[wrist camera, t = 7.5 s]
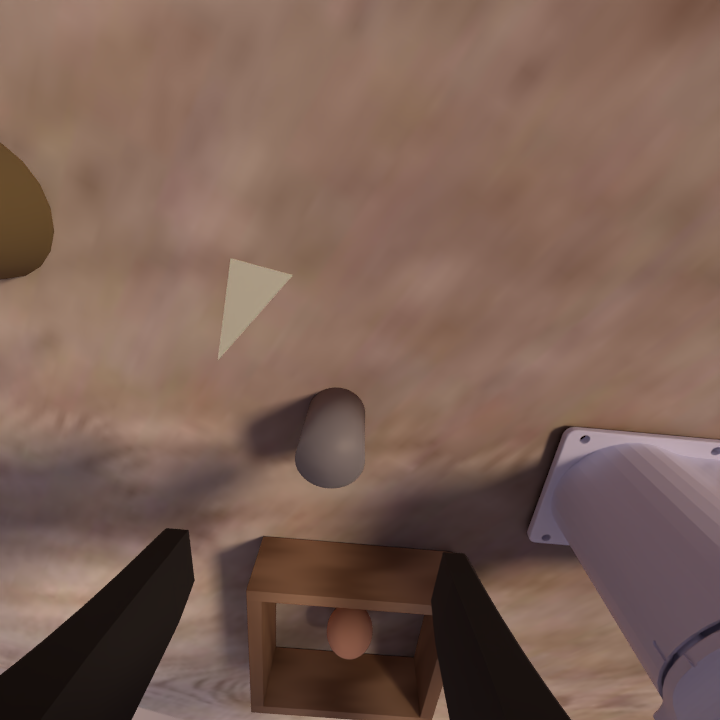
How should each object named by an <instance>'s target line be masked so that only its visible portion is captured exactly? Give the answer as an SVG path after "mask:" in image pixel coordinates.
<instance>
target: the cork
mask: <svg viewBox="0 0 720 720" xmlns="http://www.w3.org/2000/svg"><path fill="white" fill-rule="evenodd" d="M53 234H54V228H53V222H52V216H51V209H50V206H49V204H48V202H47V200H46V197H45V195H44V193H43V190H42V188H41V186H40V184H39V183H38V181H37V180H36V179H35V177H34V176H33V175H32V173H31V172H30V171H29V169H28V168H27V167H26V165H25V164H24V163H23V161H21V160H20V159H19V158H18V157H17V156H16V155H14V154H13V153H12V152H11V151H10V150H9V149H7V148H6V147H5V146H4V145H3V144H1V143H0V279H8V278H14V277H20V276H26V275H27V274H29V273H31V272H32V271H34V270H35V269H37V268H39V267H40V266H41V265H42V263H43V262H44V260H45V259H46V257H47V256H48V254H49V253H50V251H51V245H52V239H53Z"/></svg>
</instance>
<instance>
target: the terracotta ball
mask: <svg viewBox="0 0 720 720" xmlns="http://www.w3.org/2000/svg"><path fill="white" fill-rule="evenodd" d="M372 633H373V628H372V621H371V619H370V616H369V614H368V612H367V611H366V610H361V609H348V608H336V609H335V610H334V611H333V613H332V614H331V616H330V618H329V621H328V625H327V638H328V642H329V644H330V647H331V648H332V650H333V651H334V652H335V653H336V654H337V655H338V656H339V657H341V658H344V659H355V658H357V657H359V656H361V655H362V654H363V653H364V652H365V651H366V650H367V648H368V647H369V645H370V642H371V639H372Z"/></svg>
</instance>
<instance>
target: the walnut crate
mask: <svg viewBox="0 0 720 720" xmlns="http://www.w3.org/2000/svg"><path fill="white" fill-rule="evenodd" d="M443 552H445V551H433V550H421V549H409V548H397V547H385V546H373V545H361V544H349V543H337V542H325V541H312V540H300V539H288V538H276V537H264V536H263V539H262V543H261V546H260V549H259V552H258V555H257V558H256V562H255V565H254V568H253V571H252V574H251V577H250V581H249V584H248V587H247V590H246V595H247V619H248V642H249V666H250V690H251V712H257V713H270V714H284V715H297V716H311V717H325V718H338V719H352V720H432V718H433V715H434V711H435V708H436V705H437V702H438V699H439V695H440V692H441V689H442V686H443V682H442V677H441V672H440V667H439V661H438V656H437V651H436V645H435V637H434V628H433V618H432V607H431V598H432V594H433V590H434V586H435V582H436V578H437V574H438V570H439V566H440V562H441V558H442V554H443ZM450 553H453V552H450ZM276 603H285V604H298V605H311V606H323V607H336V608H348V609H361V610H374V611H386V612H399V613H411V614H424V619H423V623H422V627H421V631H420V635H419V639H418V643H417V647H416V651H415V655H414V658H412V657H399V656H386V655H373V654H362V655H361V656H359V657H357V658H355V659H344V658H341V657H339V656H338V655H337V654H336V653H335V652H334V651H321V650H308V649H295V648H282V647H276Z"/></svg>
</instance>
